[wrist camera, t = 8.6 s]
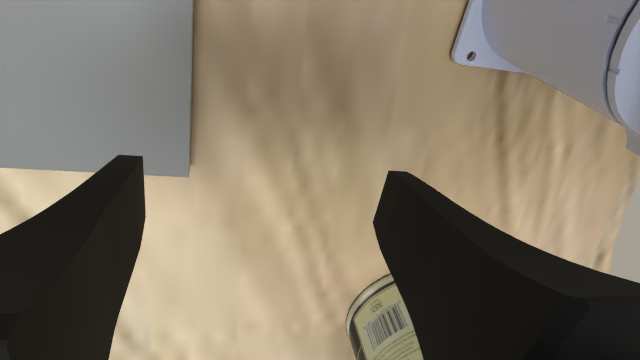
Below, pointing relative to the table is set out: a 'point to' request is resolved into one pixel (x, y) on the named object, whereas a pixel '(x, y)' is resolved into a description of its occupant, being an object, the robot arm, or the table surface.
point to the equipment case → (96, 84)
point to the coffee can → (382, 325)
